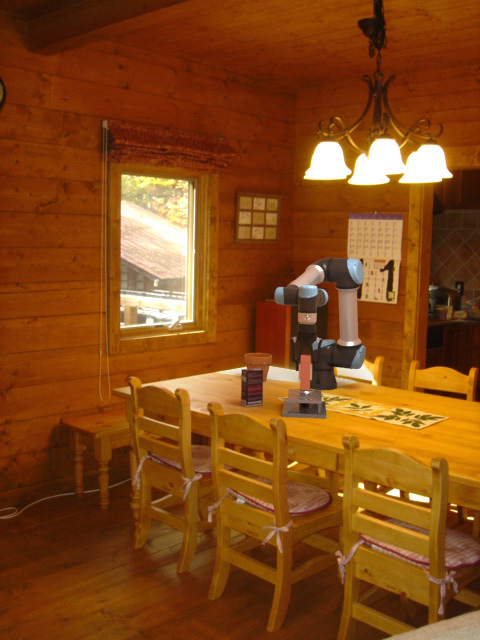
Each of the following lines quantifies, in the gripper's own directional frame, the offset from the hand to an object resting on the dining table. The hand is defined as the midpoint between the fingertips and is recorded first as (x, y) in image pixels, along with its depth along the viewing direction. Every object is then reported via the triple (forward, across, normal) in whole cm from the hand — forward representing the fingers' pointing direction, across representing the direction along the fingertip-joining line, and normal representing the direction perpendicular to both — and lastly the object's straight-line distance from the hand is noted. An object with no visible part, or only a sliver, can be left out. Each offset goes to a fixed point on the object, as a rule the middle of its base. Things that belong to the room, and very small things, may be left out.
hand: (305, 379), depth 300 cm
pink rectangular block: (+4, 0, 0) cm, 4 cm away
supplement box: (+15, -23, +12) cm, 30 cm away
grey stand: (+15, 0, +6) cm, 16 cm away
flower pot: (+14, -24, +69) cm, 74 cm away
